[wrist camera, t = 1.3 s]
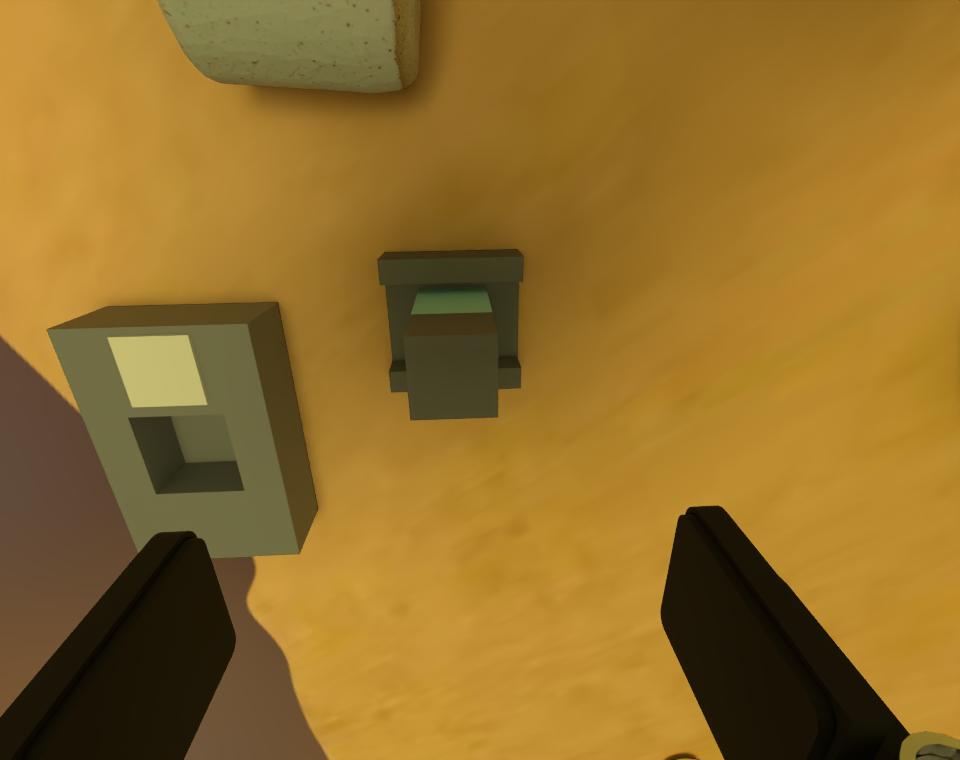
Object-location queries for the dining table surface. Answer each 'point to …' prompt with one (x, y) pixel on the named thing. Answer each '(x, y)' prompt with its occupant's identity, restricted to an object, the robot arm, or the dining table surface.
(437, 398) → the plug
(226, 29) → the ceramic mug
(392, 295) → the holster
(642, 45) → the dining table surface
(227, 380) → the port panel
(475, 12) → the dining table surface
